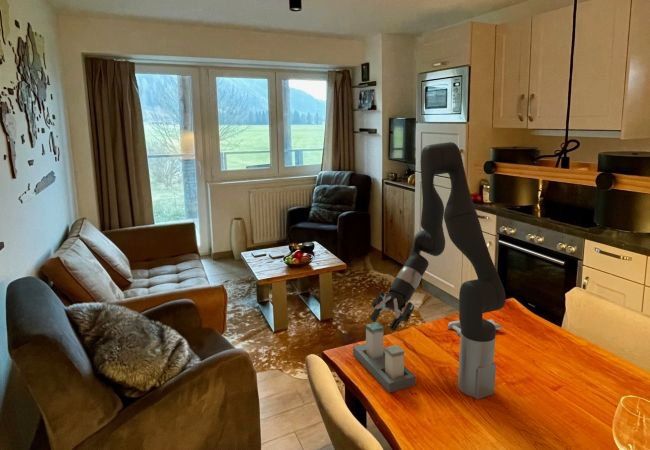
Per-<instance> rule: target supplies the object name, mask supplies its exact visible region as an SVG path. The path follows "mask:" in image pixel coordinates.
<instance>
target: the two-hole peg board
mask: <svg viewBox="0 0 650 450" xmlns="http://www.w3.org/2000/svg"><path fill="white" fill-rule="evenodd" d="M352 353H353V354H352V355H353V357H354V358H356V360H357V361H358V362H359V363H360V365H362V366H363V367H364V368H365V369H366V370H367V371H368V372H369V374H371V375H372V377H373V378H375V380H376V381H377V382H378V383H379V384H380V385H381V386H382V387H383V388H384V389H385V390H386V392H387V393H394V392H397V391H401V390H403V389H408V388H410V387H411V388H412V387H413V386H416V383H417V381H416V380H417V379H416V378H417V376H416V375H415V374H414V373H413V372H412V371H411V370H409V369H408V368H407V367H406V366H405V350H404V349H403V348H401V346H399V345H398V344H394V345H389V346H385V347H384V346H383V357H379V358H375V359H370V358H369V357H368V356H367V355H366V343H363V344H358V345H354V346H352Z"/></svg>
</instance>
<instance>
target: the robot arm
mask: <svg viewBox="0 0 650 450" xmlns="http://www.w3.org/2000/svg"><path fill="white" fill-rule="evenodd" d="M443 174H448V176H449V180H450V192H449V193H450V194H449V197H448V199H447V202H446V204H445V205H444V202H443V199H442V198H441V196H440V194H439V193H438V191H437V189H436V187H435V185H434V184H435V183H434V182H435V181H434V180H435V176H437V175H438V176H439V175H443ZM420 180H421V195H422V196H421V197H422V203H421V204H422V205H421V206H422V208H421V217H420V226H421V229H422V230H419V231H418V232H417V233H416V234H415V235H414V238H413V241H412V247H411V250H410V253H409V256H408V258H407V260H406V261H405V263H404V265H403V266H402V268H401V269H400V270H399V272H398V273H397V274H396V277H395V278H394V280H393V282H392V283H391V285H390V287H389V290H388V293H385V292H384V291H382V290H381V291H379V292H378V294H377V295H376V297H375V299H374V301H372V304H371V306H372V307H373V308H374V310H373V311H372V314H371V315H370V321H371V322H372V323H375V322H377V319H378V318H379V316H380V315H381V313H382V312H383V311H387V310H390V311H393V312H394V313H395V317H394V318H393V320H392V322H391V323H390V325H389V330H390V331H392V332H395V331H396V330H397V329H398V327H399V326H400V325H401V323H402V322H405V323H406V322H408V321H409V319H410V318H411V316H412V314H413V311H414V308H415V305H414V304H413V303H412V301H411V299H412V297H413V295H414V293H415V292H416V290H417V288H418V286H419V285H420V282H421V280H422V277H423V276H424V274H425V272H426V270H428V267H429V261H428V259H427V258H426V257H424V256H423V255H421V252H423V253H425V254H428V255H431V256H433V257H438V256H441V254H443V252H444V251H445V248H446V238H445V232H444V228H443V226H444V225H443V223H445V227H446V230H447V234H448V236H449V239H450V241H451V242H452V243H453V245H454V246H455V247H456V248H457V249H458V251H460V252H461V253H462V254H463V255H464V256H465V257H466V259H467V260H468V261H469V262H470V263H471V265H472V266H473V269H474V271H475V274H476V278H477V279H471V280H467V281H464V282H463V283H462V284H461V285H460V289H459V292H458V293H459V294H458V297H459V298H458V302H459V303H458V306H459V307H458V308H459V309H458V311H459V313H458V315H459V316H458V320H460V325H461V327H460V329H461V336H460V339H459V340H460V342H459V343H460V345H459V358H458V359H459V360H458V378H457V379H458V380H457V388H458V389H459V391H460V392H461V393H463V394H465V395H467V396H469V397H473V398H474V399H476V400H480V399H483V398H486V397H489V396H492V395H495V388H496V387H495V386H496V374H497V373H496V372H497V363H495V362H494V361H495V351H496V349H495V348H496V338H497V337H496V336H497V330H496V327H495V326H494V324H492V323H491V322H489V321H487V320H488V319H484V318H483V314H486V313H490V312H495V311H496V312H497V311H500V310H502V309H503V308H504V306H505V304H506V300H507V299H506V293H505V292H506V291H505V288H504V285H503V283H502V280H501V278H500V276H499V273H498V271H497V268H496V266H495V264H494V262H493V259H492V257H491V254H490V250H489V248H488V245H487V242H486V240H485V237H484V236H485V235H484V233H483V229H482V225H481V222H480V219H479V216H478V213H477V210H476V207H475V204H474V202H473V198H472V195H471V192H470V188H469V183H468V179H467V176H466V171H465V166H464V162H463V158H462V154H461V150H460V148H459V146H458V145H457V144H456V143H455V142H452V141H450V142H441V143H440V142H439V143H433V144H428V145H425V146H424V147H423V148H422V150H421V155H420ZM443 221H444V222H443ZM403 309H404V310H403Z"/></svg>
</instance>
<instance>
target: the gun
mask: <svg viewBox="0 0 650 450" xmlns="http://www.w3.org/2000/svg"><path fill="white" fill-rule="evenodd" d="M486 320H487V321H489V322H491V323H492V324H494V326H495V327H496V331H499V330H502V329H503V325H501V324H499V323H497V322H495V320H494V319H486ZM447 329H448V330H451V329H453V330H454V331H456V335H457V336H460V337H461V325H460V320H459V319H458V320H454V321H448V325H447Z"/></svg>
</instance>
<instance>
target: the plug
mask: <svg viewBox="0 0 650 450" xmlns="http://www.w3.org/2000/svg"><path fill="white" fill-rule="evenodd" d="M365 344H366V355H367V356H368V357H369V358H370V359H375V358H379V357H383V347H384V326H382V325H381V324H380V323H379V322H377V321H375V322H372V323H368V324H365Z"/></svg>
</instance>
